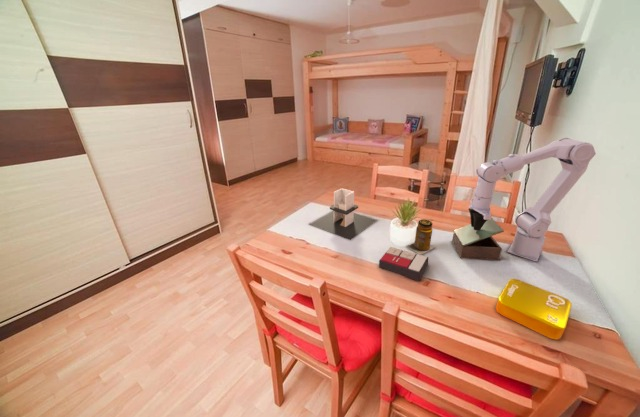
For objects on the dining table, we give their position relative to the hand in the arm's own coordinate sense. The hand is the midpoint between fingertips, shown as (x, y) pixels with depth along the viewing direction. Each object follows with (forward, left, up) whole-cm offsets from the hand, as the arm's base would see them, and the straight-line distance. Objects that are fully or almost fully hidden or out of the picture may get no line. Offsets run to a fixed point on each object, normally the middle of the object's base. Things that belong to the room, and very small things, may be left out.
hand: (475, 228), depth 102 cm
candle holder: (+55, +14, -11) cm, 58 cm away
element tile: (-23, +22, -11) cm, 34 cm away
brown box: (-1, -1, -10) cm, 10 cm away
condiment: (+16, +11, -11) cm, 22 cm away
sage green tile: (-1, -1, -1) cm, 2 cm away
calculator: (+15, +27, -11) cm, 33 cm away
